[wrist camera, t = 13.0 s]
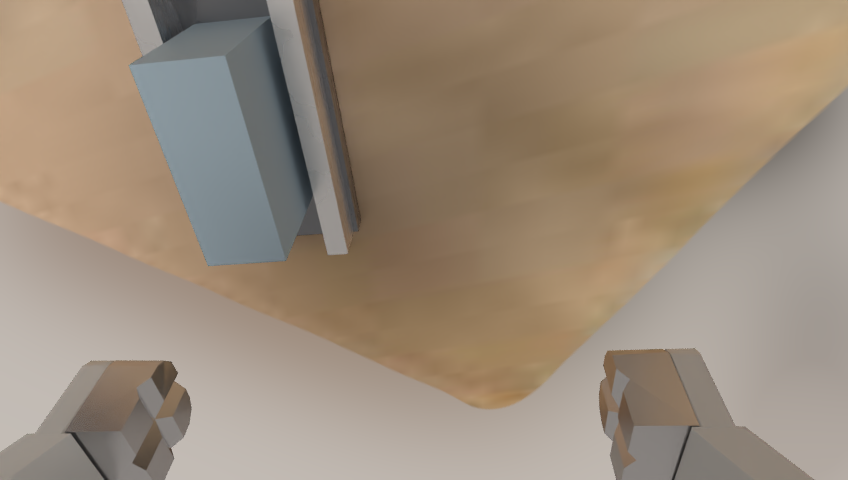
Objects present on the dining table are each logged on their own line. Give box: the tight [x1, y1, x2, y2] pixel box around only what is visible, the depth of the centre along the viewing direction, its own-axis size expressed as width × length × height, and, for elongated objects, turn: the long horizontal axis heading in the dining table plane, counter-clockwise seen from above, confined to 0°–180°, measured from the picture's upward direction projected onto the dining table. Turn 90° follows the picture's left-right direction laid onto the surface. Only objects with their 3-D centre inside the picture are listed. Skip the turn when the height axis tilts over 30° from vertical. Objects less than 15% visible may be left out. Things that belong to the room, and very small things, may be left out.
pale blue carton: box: [129, 16, 313, 266], centre depth 28 cm, size 4×10×7 cm, turn 6°
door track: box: [122, 0, 361, 255], centre depth 30 cm, size 16×8×4 cm, turn 6°
